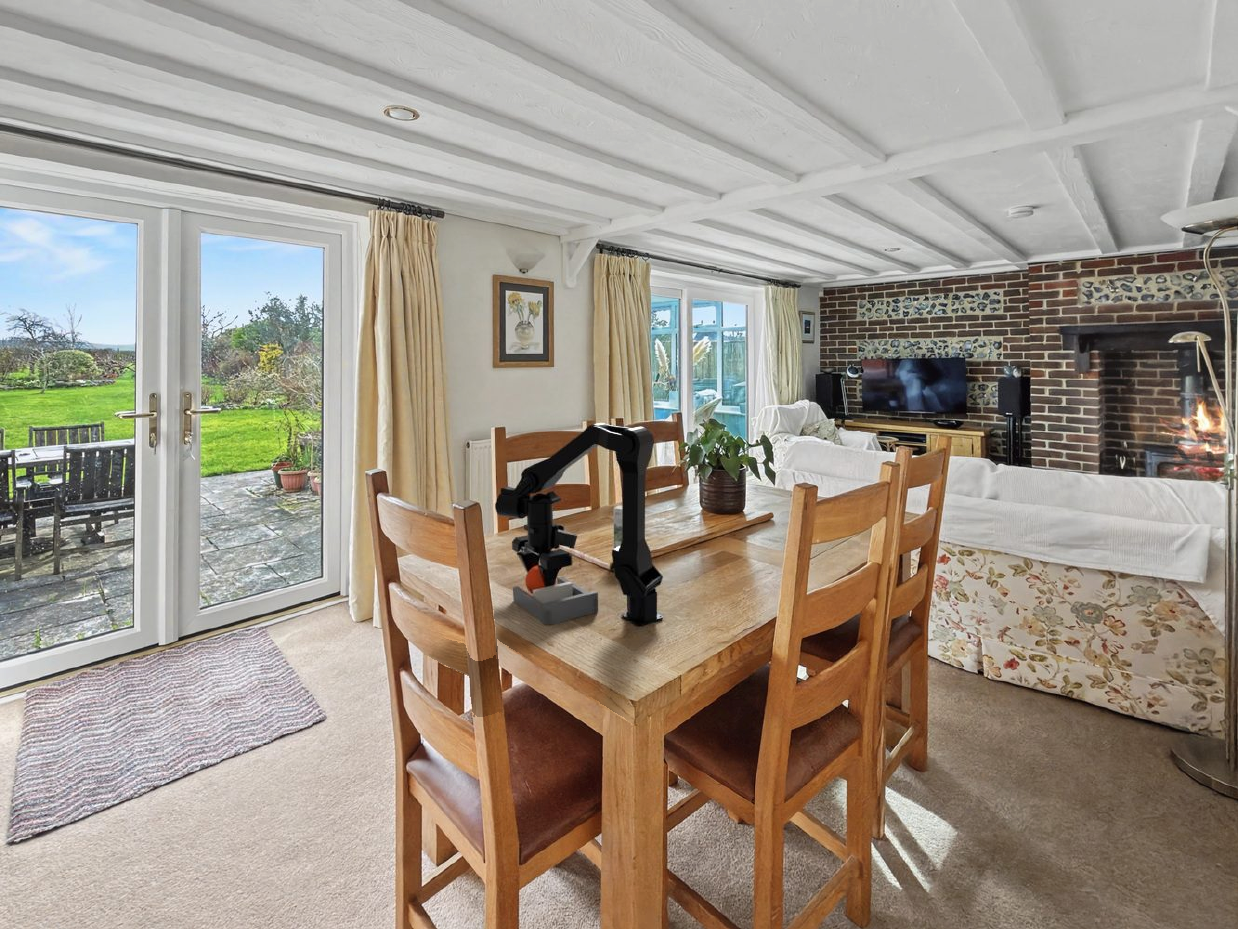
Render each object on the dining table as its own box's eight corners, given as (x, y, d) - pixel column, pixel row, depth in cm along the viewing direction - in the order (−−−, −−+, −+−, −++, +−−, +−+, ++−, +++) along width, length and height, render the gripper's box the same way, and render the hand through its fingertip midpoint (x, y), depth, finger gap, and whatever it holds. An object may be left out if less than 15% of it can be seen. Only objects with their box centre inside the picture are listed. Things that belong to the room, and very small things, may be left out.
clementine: (566, 592, 143) (564, 562, 142) (551, 603, 137) (549, 571, 136) (536, 588, 146) (534, 559, 145) (520, 598, 140) (518, 568, 139)
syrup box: (642, 557, 170) (642, 505, 168) (631, 563, 165) (631, 509, 163) (624, 553, 173) (624, 502, 171) (613, 559, 168) (612, 507, 166)
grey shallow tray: (598, 611, 134) (597, 592, 133) (546, 625, 127) (545, 605, 126) (562, 589, 147) (561, 571, 146) (513, 600, 140) (512, 582, 139)
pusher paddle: (572, 600, 140) (572, 583, 139) (535, 609, 135) (535, 591, 134) (570, 598, 141) (569, 581, 140) (533, 607, 136) (532, 590, 135)
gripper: (592, 524, 136) (594, 592, 138) (552, 507, 151) (554, 569, 154) (547, 532, 130) (549, 603, 132) (509, 514, 145) (512, 578, 148)
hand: (542, 587), depth 142 cm, fingers closed on clementine, 7 cm apart
